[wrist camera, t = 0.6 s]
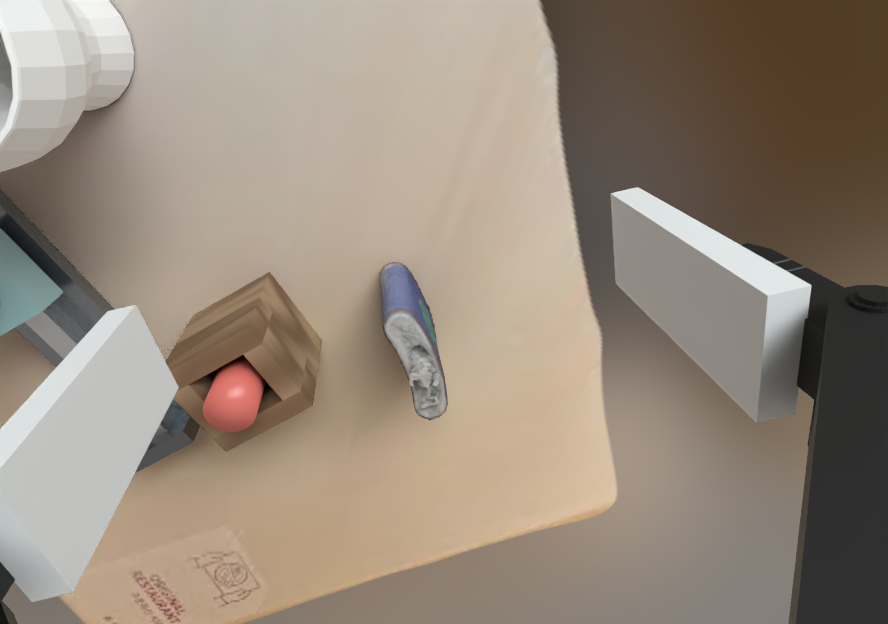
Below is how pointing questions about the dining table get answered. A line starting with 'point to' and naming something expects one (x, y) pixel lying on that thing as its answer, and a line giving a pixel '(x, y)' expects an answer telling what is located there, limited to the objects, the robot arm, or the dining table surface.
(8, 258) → the carriage
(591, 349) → the dining table surface
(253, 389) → the button
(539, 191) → the dining table surface
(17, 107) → the cup
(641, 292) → the robot arm
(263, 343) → the open wooden box
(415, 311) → the flask
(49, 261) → the rail track
